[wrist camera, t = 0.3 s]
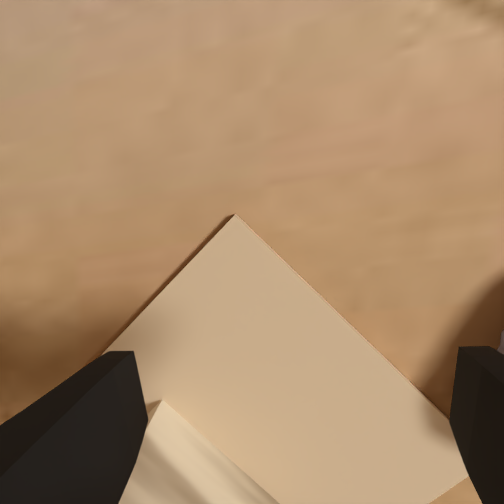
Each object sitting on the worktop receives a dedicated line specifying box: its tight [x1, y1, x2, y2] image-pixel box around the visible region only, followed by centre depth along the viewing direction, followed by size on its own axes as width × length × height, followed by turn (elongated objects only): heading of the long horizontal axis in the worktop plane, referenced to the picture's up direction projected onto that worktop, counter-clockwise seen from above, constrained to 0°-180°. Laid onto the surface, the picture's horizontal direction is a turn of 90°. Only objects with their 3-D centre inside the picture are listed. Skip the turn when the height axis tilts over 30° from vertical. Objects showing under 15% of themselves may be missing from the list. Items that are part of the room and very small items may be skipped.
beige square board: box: [102, 214, 469, 504], centre depth 21 cm, size 16×18×1 cm
